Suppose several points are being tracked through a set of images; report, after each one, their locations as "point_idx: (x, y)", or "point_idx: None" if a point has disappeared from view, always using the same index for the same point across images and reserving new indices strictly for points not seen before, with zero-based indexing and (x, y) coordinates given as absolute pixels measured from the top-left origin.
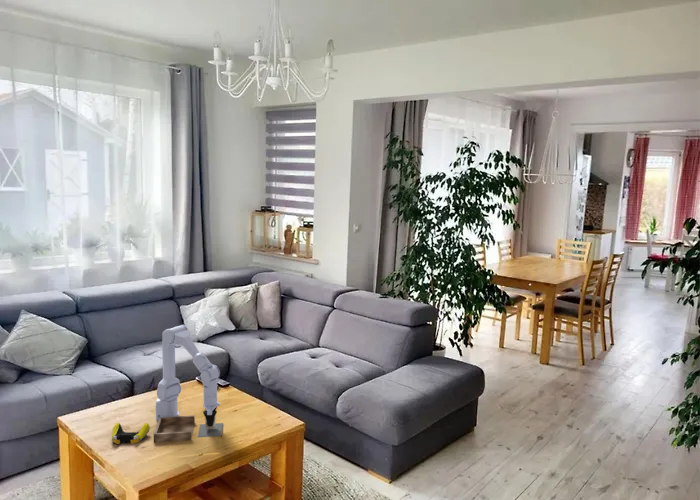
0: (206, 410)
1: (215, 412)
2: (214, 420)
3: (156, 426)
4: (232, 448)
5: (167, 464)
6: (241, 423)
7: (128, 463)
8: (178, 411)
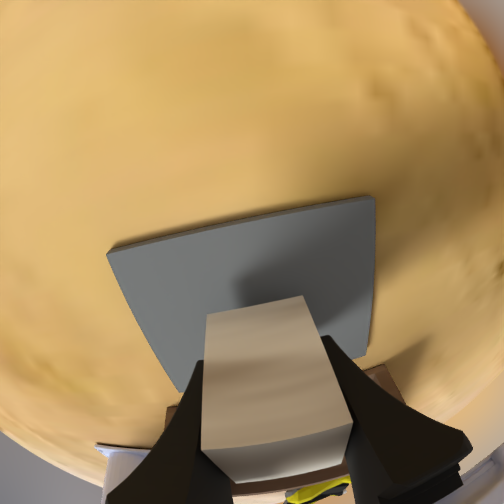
0: (230, 499)
1: (460, 457)
2: (331, 369)
3: (304, 486)
4: (496, 106)
5: (494, 346)
6: (74, 75)
7: (441, 419)
8: (96, 448)
